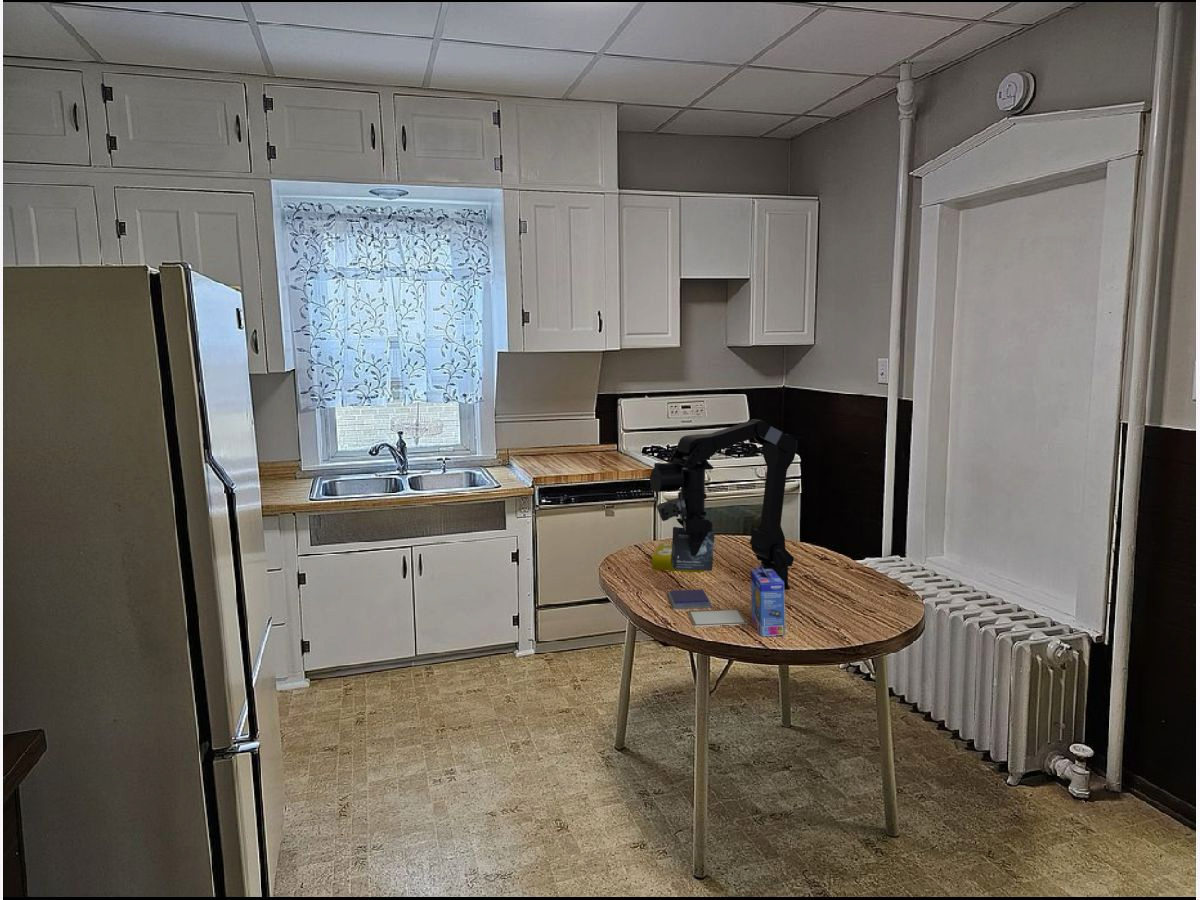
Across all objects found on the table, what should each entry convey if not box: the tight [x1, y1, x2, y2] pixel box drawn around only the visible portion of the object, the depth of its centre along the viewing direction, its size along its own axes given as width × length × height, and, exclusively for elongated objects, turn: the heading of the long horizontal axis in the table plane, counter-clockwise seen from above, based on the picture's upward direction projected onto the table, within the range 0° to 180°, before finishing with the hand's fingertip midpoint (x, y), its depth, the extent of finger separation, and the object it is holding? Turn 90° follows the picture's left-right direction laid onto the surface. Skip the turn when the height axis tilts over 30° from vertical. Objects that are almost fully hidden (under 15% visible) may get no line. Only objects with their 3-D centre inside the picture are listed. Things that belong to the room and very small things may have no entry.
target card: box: [687, 608, 748, 628], centre depth 173 cm, size 12×9×1 cm
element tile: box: [651, 542, 705, 574], centre depth 215 cm, size 15×15×5 cm
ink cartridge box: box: [750, 562, 786, 637], centre depth 165 cm, size 10×6×14 cm, turn 2°
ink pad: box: [667, 588, 712, 610], centre depth 184 cm, size 9×9×2 cm
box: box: [671, 526, 716, 572], centre depth 182 cm, size 9×6×10 cm, turn 93°
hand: (692, 552), depth 182 cm, fingers closed on box, 5 cm apart
